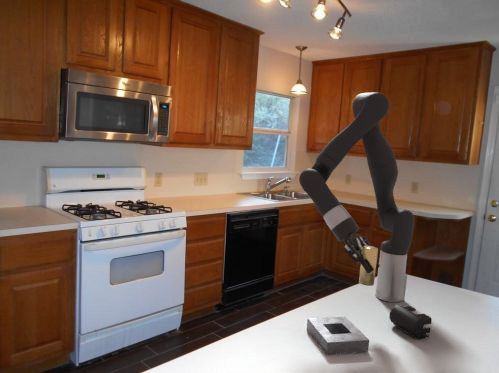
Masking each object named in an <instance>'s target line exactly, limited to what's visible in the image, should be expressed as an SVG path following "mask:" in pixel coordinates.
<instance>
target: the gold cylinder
mask: <svg viewBox="0 0 499 373" xmlns="http://www.w3.org/2000/svg"><path fill="white" fill-rule="evenodd" d="M363 250H364V255H365V257H366V259H367V260H368V261H369V262H370V264H371V265H372V267H373V268H374V271H372V272H371V273H367V272H366V270H365V269H364V267H363V266H362V264H361V263H360V268H359V279H358V283H359V284H361V286H369V287H373V286H374V285H375V279H376V270H377V269H376V262H378V253H379V248H378V247H376V246H373V245H371V246H363Z"/></svg>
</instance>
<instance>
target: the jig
mask: <svg viewBox="0 0 499 373" xmlns="http://www.w3.org/2000/svg"><path fill="white" fill-rule="evenodd" d="M306 321H307V323H306V331H307V332H308V333H309V335H310V336H311V337H312V338H313V340H314V341H315V342H316V344H317V345H318V346H319V347H320V349H321V350H322V351H323V353H324V354H325V355H326V356H332V355H333V356H334V355H347V354H348V355H350V354H363V353H369V347H370V346H369V345H370V339H369V338H368V337H367V336H366V335H365V334H364V333H363V332H362V331H361V330H360V329H359V328H358V327H356V325H354V323H353V322H352V321H350V319H349V318H347V317H346V316H329V317H328V316H327V317H326V316H324V317H307V320H306Z"/></svg>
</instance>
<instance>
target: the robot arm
mask: <svg viewBox="0 0 499 373" xmlns="http://www.w3.org/2000/svg"><path fill="white" fill-rule="evenodd" d="M351 105H352V106H351V107H352V113H353V117H354V119H353V120H352V121H351V123H349V125H348V126H346V127H345V128H344V129H343V130H341V131H340V132H339V133H337V134H336V135H335V136H334V137H333V138H332V139H330V140H329V141H328V143H327V144H326V145H325V146H324V148H323V149H322V150H321V151H320V153H319V154H318V155H317V157H316V159H315V162H314V164H313V166H312V167H311V168H306V169H303V171H301V173H300V174H299V178H298V181H299V185H300V186H301V188H302V190H303V191H304V192H305V193H306V194H307V196H309V198H310V199H311V201H312V202H313V204H314V206H315V207H316V209H317V212H318V213H319V214H320V215H321V216H322V217H323V218H322V219H323V220H324V221H325V223H326V225H327V227H328V228H329V229H330V231H331V232H332V234H333V235H334V236H335V238H336V239H337V241H338V242H340V243H341V242H344V246H342V249H343V251H345V253H346V254H347V255H348V256H349V257H350V259H351V260H352V261H353V262H355V263H359V264H360V265H361V264H362V266H363V267H364V269H365V270H366V272H367V273H371V272H372V271H374V268H373V267H372V265H371V264H370V262H369V261H368V260H367V259H366V257H365V255H364V250H363V246H372V245H371V244H370V241H369V240H368V237H366V236H365V235H364V236H361V235H360V234H359V233H358V231H359V230H360V226H359V225H358V224H357V223H356V221H355V220H354V218H353V217H352V216H351V214H350V213H349V212H348V210H347V209H346V208H345V207H344V206H343V205H342V204H341V202H340V201H339V199H338V198H337V197H336V195H335V194H334V193H333V192H332V190H331V189H330V188H329V186H328V184H327V182H328V180H329V179H330V176H331V175H332V174H333V173H334V172H333V171H334V170H336V168H337V167H338V166H339V165H340V163H341V162H342V161H343V160H344V158H345V157H346V156H347V155H348V153H349V152H350V151H351V150H352V149H353V148H354V147H355V146H356V144H357V143H359V141H360V140H361V142H362V144H363V149H364V152H365V156H366V161H367V166H368V170H369V174H370V177H371V183H372V185H373V186H372V188H373V192H374V195H375V200H376V201H375V202H376V207H377V208H376V209H377V216H378V222H379V225H380V227H381V228H382V229H383V230H385V231H387V232H390V233H391V236H390V240H384V241H382V242H381V244H380V251H379V252H380V253H379V261H377V262H376V270H377V269H378V270H377V278H376V287H375V297H376V298H377V299H379V300H382V301H385V302H390V303H400V302H401V301H405V300H406V299H405V297H406V289H407V282H408V281H407V280H408V274H407V273H406V269H407V268H406V267H407V259H408V253H409V249H410V247H411V244H412V242H413V234H414V229H415V216H414V213H413V212H412V211H410V210H408V209H406V208H402V207H399V206H398V207H397V204H396V200H395V196H394V189H395V185H396V183H397V180H398V178H399V170H398V169H399V167H398V162H397V159H396V155H395V152H394V151H393V148H392V147H391V145H390V144H389V141H388V140H387V139H386V138H385V136H384V134H383V133H382V130H381V127H380V123H379V122H381V121H382V120H383V119H384V118H385V117H386V115H387V114H388V112H389V110H390V100H389V99H388V96H386V95H385V94H384V93H382V92H377V91H376V92H375V91H374V92H363V93H362V92H361V93H359V94H357V95H356V96H355V97H354V99H353V102H352V104H351Z"/></svg>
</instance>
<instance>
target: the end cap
mask: <svg viewBox="0 0 499 373" xmlns="http://www.w3.org/2000/svg"><path fill="white" fill-rule="evenodd" d="M416 311H417V309H416V308H415V307H413V306H410V305H408V306H402V305H400V304H395V305H394V306H393V307H392V308H391V309H390V312H389V315H388V316H389V317H388V318H389V321H391V323H393V325H394V326H396V327H397V328H399V329H400V330H402V331H404V332H406V333H407V334H409V335H410V336H412V338H415V339H416V340H422V339H429V334H430V333H431V327H425V326H426V325H431V324H432V317H431V316H429V315H427V314H426V313H415V312H416Z"/></svg>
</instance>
